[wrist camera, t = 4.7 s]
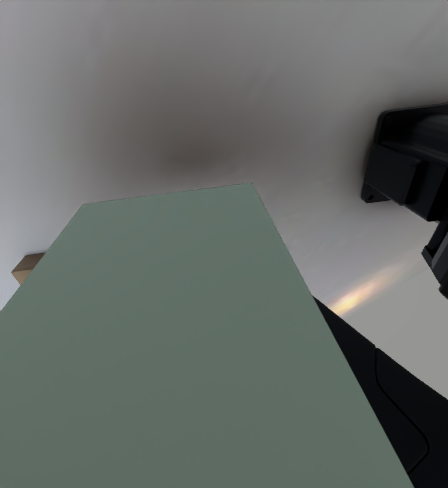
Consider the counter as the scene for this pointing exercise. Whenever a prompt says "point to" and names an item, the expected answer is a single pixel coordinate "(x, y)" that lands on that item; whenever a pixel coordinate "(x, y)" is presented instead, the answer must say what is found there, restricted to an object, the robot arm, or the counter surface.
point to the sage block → (179, 358)
